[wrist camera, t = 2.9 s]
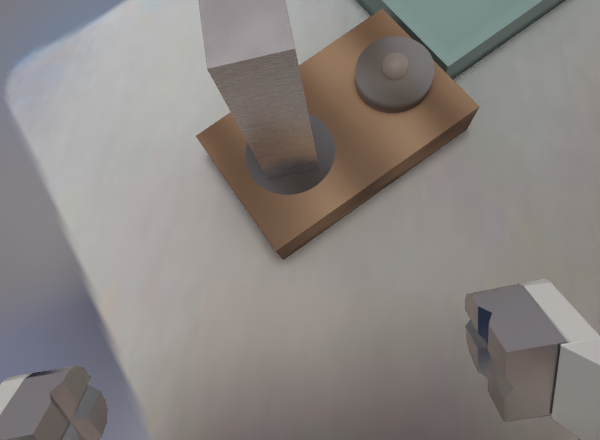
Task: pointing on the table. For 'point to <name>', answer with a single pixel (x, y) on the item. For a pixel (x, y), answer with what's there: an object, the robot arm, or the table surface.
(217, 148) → the block
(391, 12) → the tray
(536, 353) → the robot arm
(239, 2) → the pin
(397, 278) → the table surface
